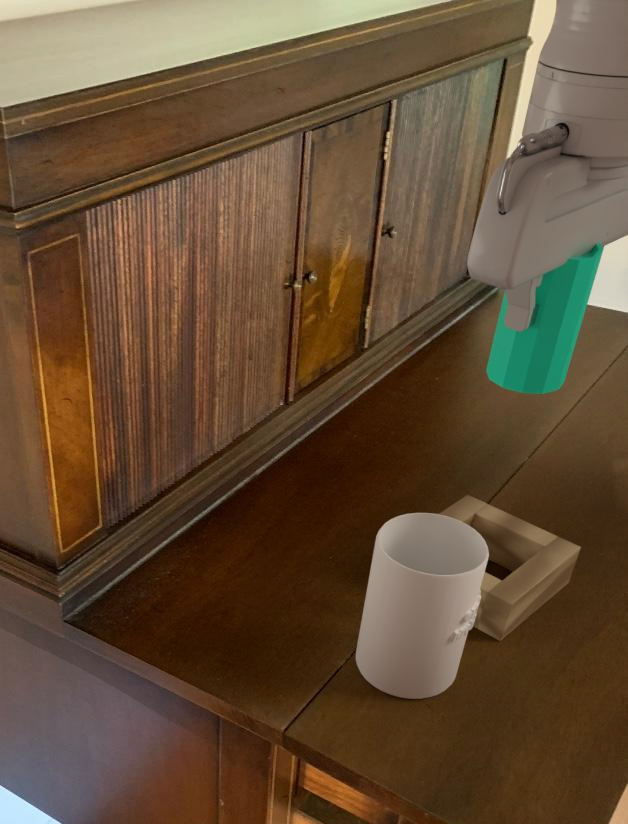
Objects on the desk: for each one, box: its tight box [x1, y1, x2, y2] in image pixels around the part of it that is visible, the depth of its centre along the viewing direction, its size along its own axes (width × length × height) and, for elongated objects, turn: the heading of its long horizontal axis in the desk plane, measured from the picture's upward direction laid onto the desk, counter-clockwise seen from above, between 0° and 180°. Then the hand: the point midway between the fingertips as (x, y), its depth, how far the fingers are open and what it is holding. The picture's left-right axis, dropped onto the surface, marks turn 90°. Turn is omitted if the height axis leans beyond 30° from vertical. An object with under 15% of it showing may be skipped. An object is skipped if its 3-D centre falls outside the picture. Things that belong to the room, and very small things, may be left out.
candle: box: [485, 242, 604, 395], centre depth 70 cm, size 6×6×12 cm
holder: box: [438, 494, 582, 642], centre depth 81 cm, size 11×11×4 cm
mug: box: [355, 512, 489, 700], centre depth 71 cm, size 8×12×12 cm
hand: (542, 314), depth 70 cm, fingers closed on candle, 5 cm apart
